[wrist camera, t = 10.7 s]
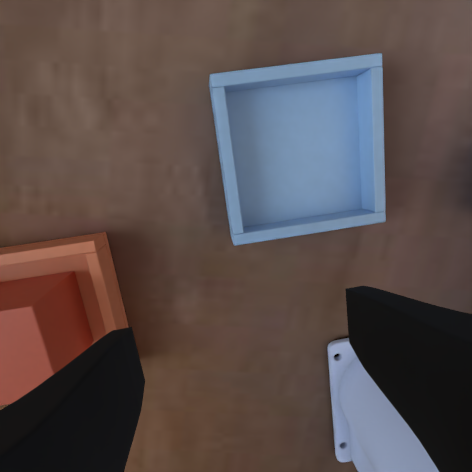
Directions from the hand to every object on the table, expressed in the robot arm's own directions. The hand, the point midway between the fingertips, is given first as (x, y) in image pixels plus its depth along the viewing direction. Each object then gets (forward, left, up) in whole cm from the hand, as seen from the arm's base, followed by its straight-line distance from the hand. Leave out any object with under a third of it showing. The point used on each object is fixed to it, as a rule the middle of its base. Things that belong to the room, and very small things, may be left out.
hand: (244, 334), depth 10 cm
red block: (-1, +11, -8) cm, 13 cm away
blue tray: (+5, -4, -8) cm, 11 cm away
